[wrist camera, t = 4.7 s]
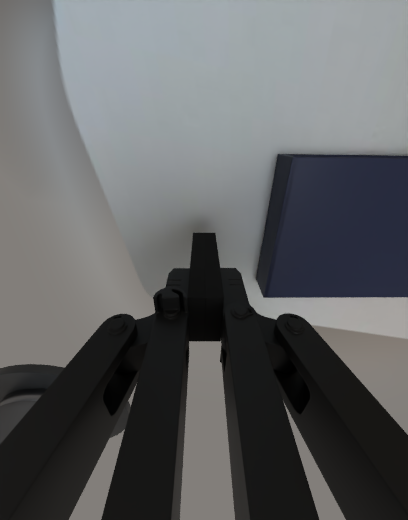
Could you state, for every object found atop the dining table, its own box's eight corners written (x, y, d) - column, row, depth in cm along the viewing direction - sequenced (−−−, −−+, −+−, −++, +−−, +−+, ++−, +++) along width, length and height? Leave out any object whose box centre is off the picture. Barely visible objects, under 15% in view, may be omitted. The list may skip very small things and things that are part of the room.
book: (256, 279, 22) (263, 297, 19) (277, 154, 16) (292, 157, 13) (400, 278, 22) (427, 297, 20) (477, 156, 16) (529, 159, 14)
